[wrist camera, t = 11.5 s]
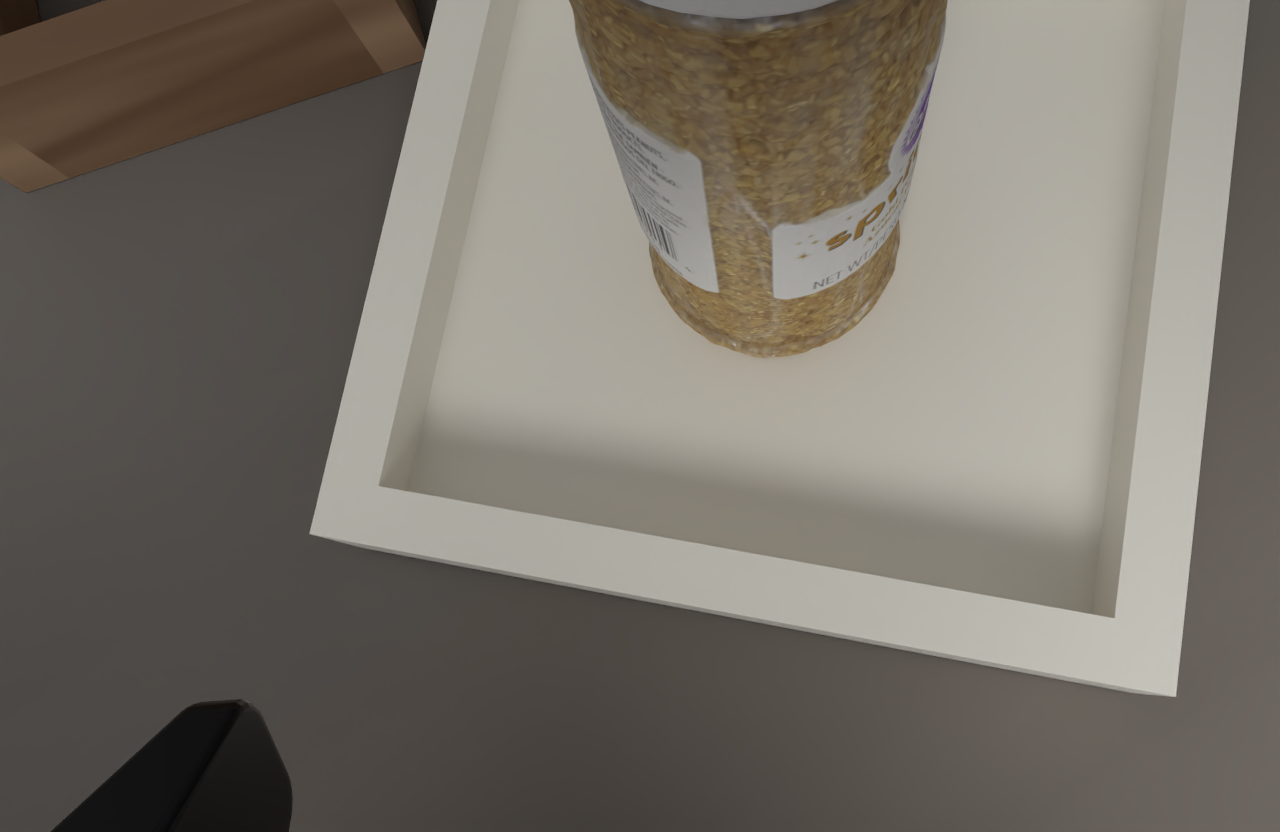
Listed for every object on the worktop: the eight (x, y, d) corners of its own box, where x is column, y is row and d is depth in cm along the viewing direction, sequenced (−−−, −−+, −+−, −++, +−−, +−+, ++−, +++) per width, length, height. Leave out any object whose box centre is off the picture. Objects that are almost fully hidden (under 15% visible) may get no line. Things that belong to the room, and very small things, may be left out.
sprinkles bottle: (906, 355, 21) (1100, -153, 8) (648, 367, 21) (430, -89, 8) (890, 115, 22) (1038, -695, 9) (644, 132, 22) (441, -608, 9)
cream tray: (1129, 692, 20) (1175, 697, 18) (361, 547, 23) (309, 534, 20) (1213, -44, 23) (1263, -128, 20) (513, -109, 25) (483, -192, 23)
